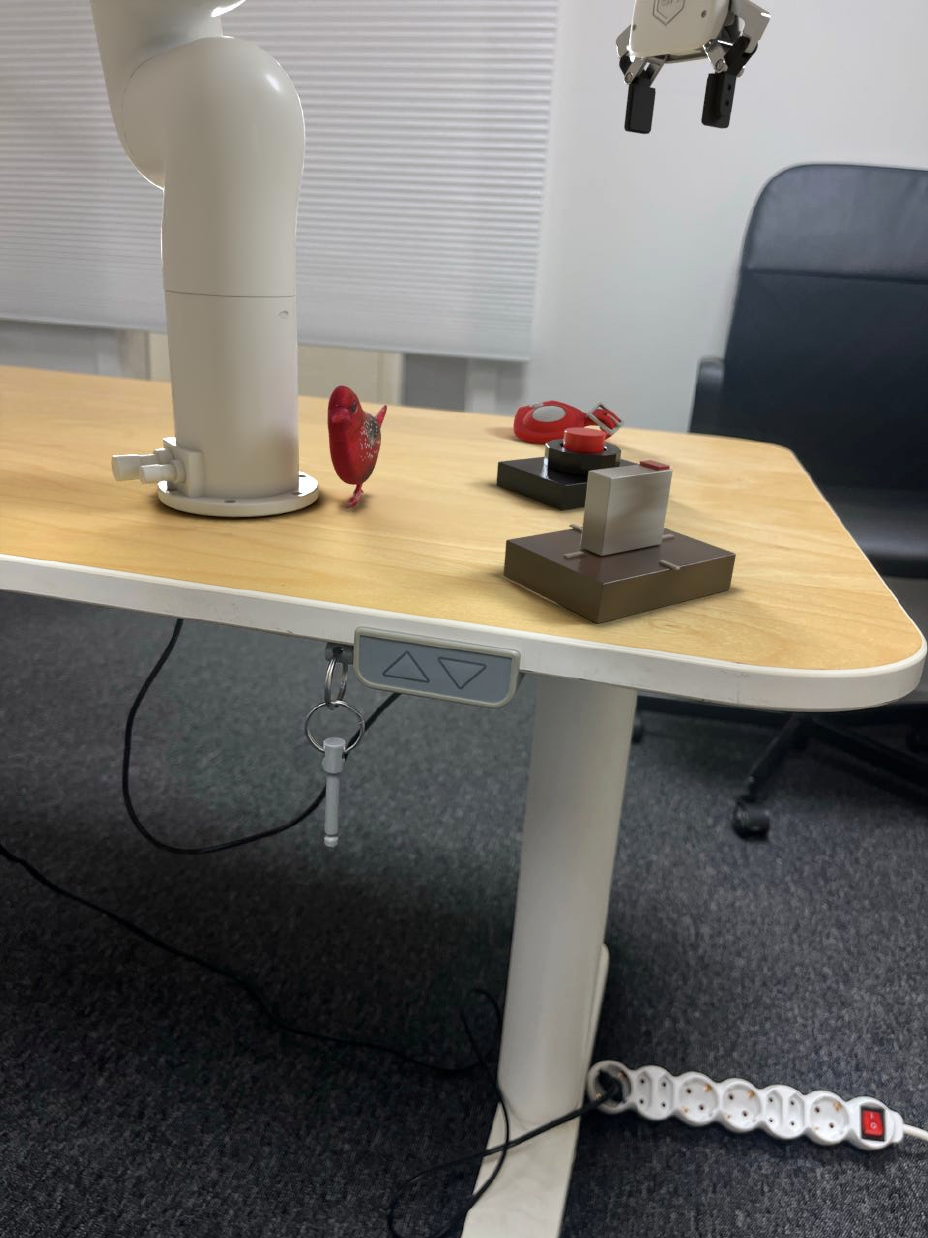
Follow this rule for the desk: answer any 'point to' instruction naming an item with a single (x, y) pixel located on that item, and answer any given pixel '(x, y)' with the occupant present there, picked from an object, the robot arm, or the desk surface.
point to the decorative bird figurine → (353, 439)
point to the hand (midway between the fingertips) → (674, 129)
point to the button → (584, 439)
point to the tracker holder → (561, 421)
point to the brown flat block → (617, 572)
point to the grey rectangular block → (625, 507)
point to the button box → (557, 474)
